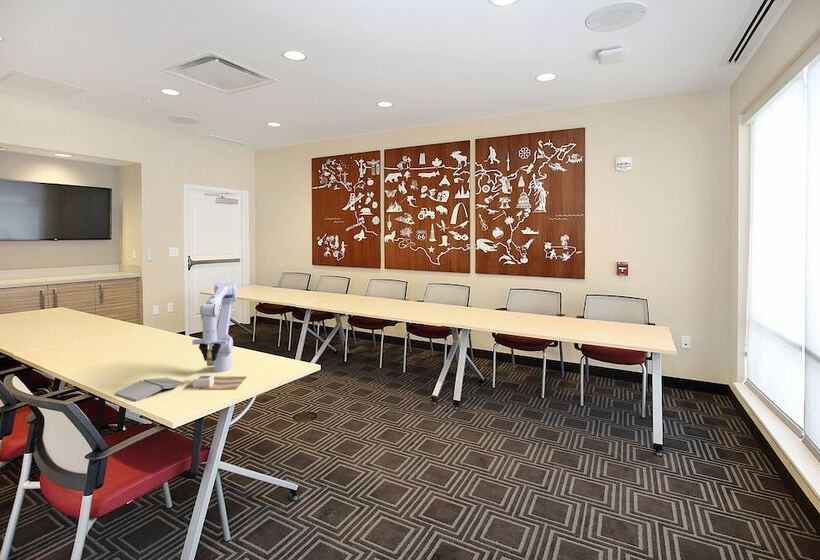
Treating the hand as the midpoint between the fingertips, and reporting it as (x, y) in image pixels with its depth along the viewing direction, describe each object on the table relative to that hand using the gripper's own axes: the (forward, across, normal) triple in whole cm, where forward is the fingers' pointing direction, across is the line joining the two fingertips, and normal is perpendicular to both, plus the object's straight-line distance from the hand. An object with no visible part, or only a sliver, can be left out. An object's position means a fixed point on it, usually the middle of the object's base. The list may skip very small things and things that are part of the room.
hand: (210, 360), depth 202 cm
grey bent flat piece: (+11, -21, -9) cm, 26 cm away
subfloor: (+10, +4, -4) cm, 12 cm away
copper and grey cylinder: (+2, 0, 0) cm, 2 cm away
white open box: (+9, -1, -7) cm, 12 cm away
